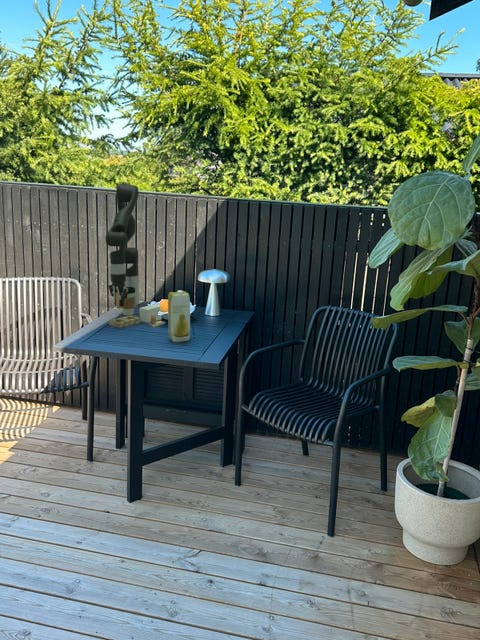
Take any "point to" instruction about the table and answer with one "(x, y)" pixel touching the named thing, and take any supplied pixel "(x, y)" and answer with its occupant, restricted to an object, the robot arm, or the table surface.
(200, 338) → the table surface
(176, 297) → the juice carton
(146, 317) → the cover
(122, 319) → the socket board
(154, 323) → the pattern board
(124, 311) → the coffee cup
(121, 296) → the terracotta peg
